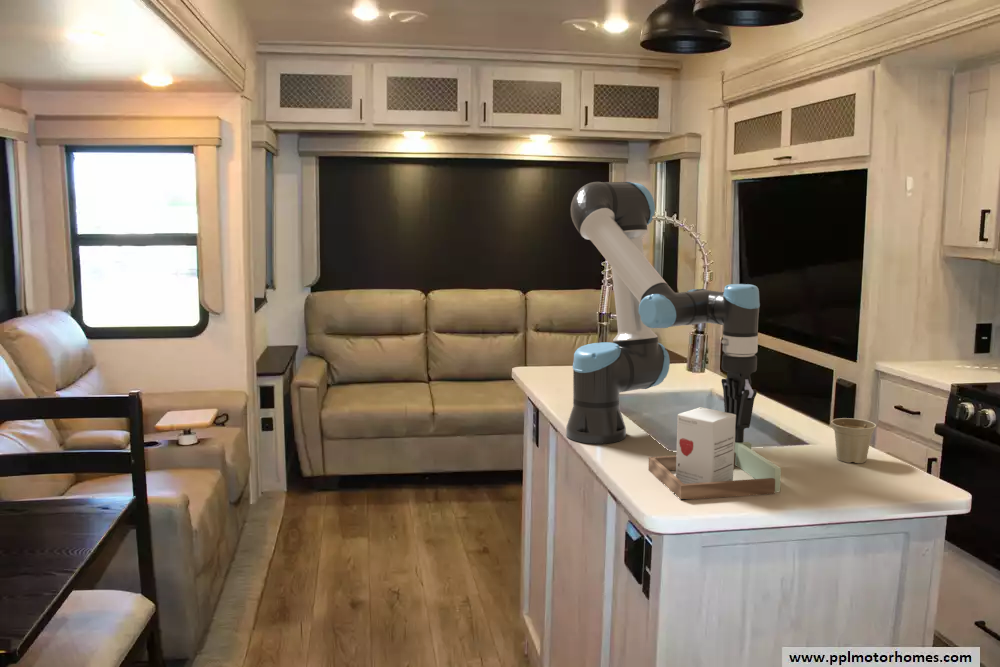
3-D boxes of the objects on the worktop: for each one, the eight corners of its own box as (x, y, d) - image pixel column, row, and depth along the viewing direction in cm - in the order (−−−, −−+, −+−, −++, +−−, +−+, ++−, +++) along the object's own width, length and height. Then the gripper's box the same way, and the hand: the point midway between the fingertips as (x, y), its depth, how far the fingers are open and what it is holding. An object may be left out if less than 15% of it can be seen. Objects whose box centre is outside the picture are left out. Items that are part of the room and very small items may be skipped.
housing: (648, 470, 178) (648, 457, 178) (733, 464, 181) (733, 451, 181) (680, 500, 160) (681, 485, 159) (774, 493, 163) (775, 479, 162)
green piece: (734, 464, 182) (735, 442, 181) (747, 463, 182) (748, 441, 182) (774, 492, 164) (775, 468, 163) (788, 491, 164) (790, 467, 163)
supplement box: (673, 482, 170) (675, 413, 168) (697, 472, 176) (699, 406, 174) (711, 492, 164) (713, 421, 162) (734, 482, 170) (737, 413, 168)
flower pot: (836, 451, 191) (838, 415, 189) (879, 458, 185) (881, 422, 183) (823, 460, 184) (825, 424, 182) (867, 468, 178) (869, 431, 176)
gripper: (711, 349, 185) (708, 448, 189) (736, 359, 173) (733, 465, 177) (742, 348, 187) (738, 446, 190) (769, 358, 174) (765, 463, 178)
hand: (736, 455), depth 183 cm, fingers closed
